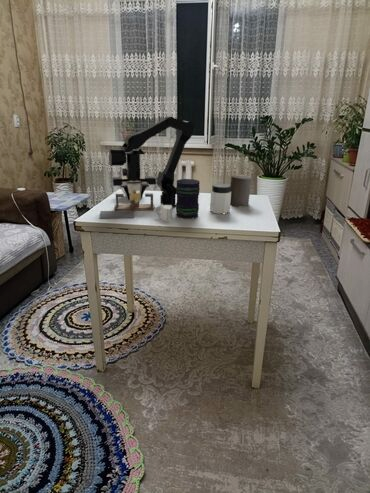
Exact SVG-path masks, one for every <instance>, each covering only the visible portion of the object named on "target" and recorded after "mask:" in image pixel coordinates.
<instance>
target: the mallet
mask: <svg viewBox="0 0 370 493" xmlns="http://www.w3.org/2000/svg"><path fill="white" fill-rule="evenodd" d="M130 200H134V202H135V203H136V202H139V203H140V201H141V200H142V199H141V193H140V191H136V190H135V189H134V190H133V191H129V200H128V201H130Z"/></svg>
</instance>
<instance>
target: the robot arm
mask: <svg viewBox="0 0 370 493" xmlns="http://www.w3.org/2000/svg"><path fill="white" fill-rule="evenodd" d="M169 128H172V129H174V130H176V132H175V142H174V144H173V147H172V149H171V151H170V154H169V157H168V160H167V162H166V166H165V168H164V169H163V170H162V171H158V174H157V177H156V178H155V177H154V176H153V175H150V176H149V175H148V176H147V175H145V177H141V155H145V153H146V152H145V151H143V150H142V148H141V147H142V146H143V145H144V144H145V143H146V142H147V141H148V140H149V139H151V138H154V136H156V135H158V134H160V133H162V132H164V131H165V130H167V129H169ZM195 130H196V127H195V124H194V123H193V122H192V121H189V120H187V121H186V120H180V119H178V118H175V117H173V116H165V117H164V118H162V119H161V120H159V121H157V122H155V123H154V124H152V125H150V126H149V127H146V128H145V129H143V130H140V131H139V130H138V131H136V132H133V133H129V134H127V135H126V136H125V139H124V143H123V144H122V146H121V147H120V149H118V148H117V149H114V148H110V149H109V153H108V163H109V166H110V167H112V166H113V167H115V166H118V167H119V166H124V165H125V164H126V168H122V169H121V172H122V174H121V175H122V177H121V176H113V177H112V179H111V180H112V181H111V183H112V185H113V187H114V186H115V187H120V188H121V187H122V188H124V190H125V192H126V195H127V197H126V198H127V201H130V200H129V191H128V186H127V183H140V193H141V200H142V198H143V195H144V194H145V191H146V189H147V188H148V187H149V186H150V185H151V186H152V185H153V186H154V185H156V186H157V187H158V188H159V189H160V191H161V194H160V196H159V197H160V205H161V204H163V205H172V208H174V207H175V208H176V201H177V194H176V186H174V183H175V171H176V169H177V166H178V164H179V161H180V159H181V156H182V153H183V151H184V148H185V145H186V143H187V142H188V141H189V140H190V139H191V138H192V136H193V134H194V133H195ZM123 177H127V179H122V178H123ZM140 177H141V178H140Z"/></svg>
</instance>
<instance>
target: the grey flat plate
mask: <svg viewBox="0 0 370 493" xmlns="http://www.w3.org/2000/svg"><path fill="white" fill-rule="evenodd" d="M98 219H99V220H100V219H101V220H105V219H107V220H108V219H113V220H114V219H134V211H133V210H126V211H115V210H101V211H100V212H99V218H98Z"/></svg>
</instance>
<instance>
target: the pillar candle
mask: <svg viewBox="0 0 370 493" xmlns="http://www.w3.org/2000/svg"><path fill="white" fill-rule="evenodd" d="M251 183H252V176H251V175H247V174H242V173H240V174H231V178H230V186H231V190H230V192H231V201H230V206H233V207H239V206H243V207H248V206H249V202H250V195H251V194H250V193H251V185H252V184H251Z"/></svg>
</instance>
